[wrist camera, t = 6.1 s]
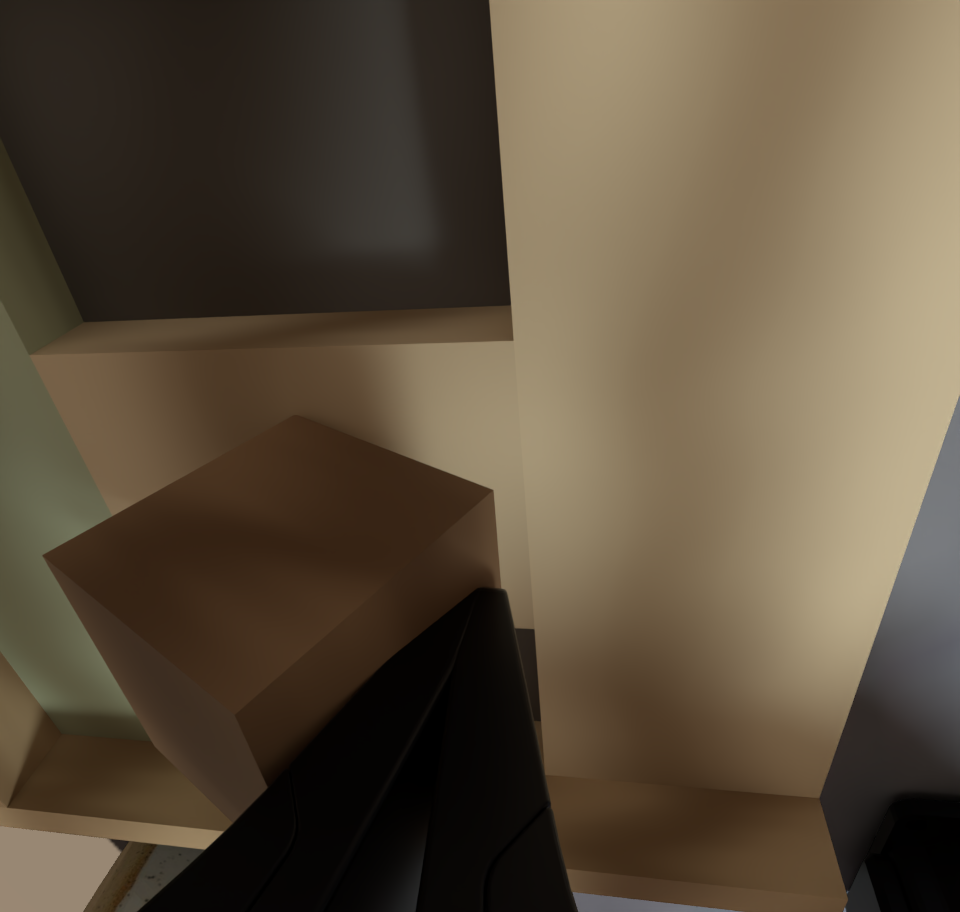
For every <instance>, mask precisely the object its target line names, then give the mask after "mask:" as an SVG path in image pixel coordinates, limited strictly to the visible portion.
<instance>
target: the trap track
mask: <svg viewBox="0 0 960 912" xmlns="http://www.w3.org/2000/svg"><path fill="white" fill-rule="evenodd" d="M959 395H960V0H0V826H5V827H13V828H22V829H31V830H40V831H48V832H57V833H65V834H74V835H83V836H91V837H101V838H109V839H117V840H126V841H135V842H144V843H152V844H161V845H170V846H178V847H187V848H196V849H204V850H205V849H206V848H207V847H208V846H209V845H210V844H211V843H213V842H214V841H215V840H216V839H217V838H218V837H219V836H220V835H221V834H222V833H223V832H224V831H225V830H226V829H227V828H229V827H230V826H231V825H232V824H233V823H232V822H231V821H230V820H229V819H228V818H227V817H226V816H225V815H224V814H223V813H222V812H221V811H220V810H219V809H218V808H217V807H216V806H215V805H214V804H213V803H212V802H211V801H210V800H209V799H208V798H207V797H206V796H205V795H204V794H203V793H202V792H201V791H200V790H199V789H198V788H197V787H196V786H195V785H193V784H192V783H191V782H190V781H189V780H188V779H187V778H186V777H185V776H184V775H183V774H182V773H181V772H180V771H179V770H178V769H177V768H176V767H175V766H174V765H173V764H172V763H171V762H170V761H169V760H168V759H167V758H166V757H165V756H164V755H163V754H162V753H161V752H160V751H159V750H158V749H157V748H156V747H155V746H154V744H153V743H152V741H151V739H150V738H149V736H148V734H147V733H146V731H145V729H144V728H143V726H142V724H141V722H140V721H139V719H138V717H137V716H136V714H135V712H134V711H133V709H132V707H131V705H130V704H129V702H128V700H127V699H126V697H125V695H124V694H123V692H122V690H121V689H120V687H119V685H118V683H117V682H116V680H115V678H114V677H113V675H112V673H111V672H110V670H109V668H108V667H107V665H106V663H105V661H104V660H103V658H102V656H101V655H100V653H99V651H98V650H97V648H96V646H95V644H94V643H93V641H92V639H91V638H90V636H89V634H88V633H87V631H86V629H85V628H84V626H83V624H82V622H81V621H80V619H79V617H78V616H77V614H76V612H75V611H74V609H73V607H72V605H71V604H70V602H69V600H68V599H67V597H66V595H65V594H64V592H63V590H62V589H61V587H60V585H59V583H58V582H57V580H56V578H55V577H54V575H53V573H52V572H51V570H50V568H49V567H48V565H47V563H46V561H45V560H44V558H43V556H42V555H43V554H45V553H47V552H49V551H51V550H52V549H54V548H56V547H58V546H60V545H61V544H63V543H65V542H67V541H68V540H70V539H72V538H74V537H76V536H77V535H79V534H81V533H83V532H85V531H86V530H88V529H90V528H92V527H94V526H95V525H97V524H99V523H101V522H103V521H104V520H106V519H108V518H110V517H112V516H113V515H115V514H117V513H119V512H121V511H122V510H124V509H126V508H128V507H130V506H131V505H133V504H135V503H137V502H139V501H140V500H142V499H144V498H146V497H148V496H149V495H151V494H153V493H155V492H157V491H158V490H160V489H162V488H164V487H166V486H167V485H169V484H171V483H173V482H175V481H176V480H178V479H180V478H182V477H184V476H185V475H187V474H189V473H191V472H193V471H194V470H196V469H198V468H200V467H202V466H203V465H205V464H207V463H209V462H211V461H212V460H214V459H216V458H218V457H220V456H221V455H223V454H225V453H227V452H228V451H230V450H232V449H234V448H236V447H237V446H239V445H241V444H243V443H245V442H246V441H248V440H250V439H252V438H254V437H255V436H257V435H259V434H261V433H263V432H264V431H266V430H268V429H270V428H272V427H273V426H275V425H277V424H279V423H281V422H282V421H284V420H286V419H288V418H290V417H291V416H293V415H298V416H301V417H303V418H306V419H309V420H311V421H314V422H317V423H319V424H322V425H324V426H327V427H330V428H332V429H335V430H338V431H340V432H343V433H345V434H348V435H351V436H353V437H356V438H359V439H361V440H364V441H366V442H369V443H372V444H374V445H377V446H380V447H382V448H385V449H387V450H390V451H393V452H395V453H398V454H401V455H403V456H406V457H408V458H411V459H414V460H416V461H419V462H422V463H424V464H427V465H429V466H432V467H435V468H437V469H440V470H443V471H445V472H448V473H450V474H453V475H456V476H458V477H461V478H463V479H466V480H469V481H471V482H474V483H477V484H479V485H482V486H484V487H487V488H490V489H492V490H494V502H495V514H496V527H497V540H498V552H499V565H500V577H501V588H502V589H505V590H506V591H507V593H508V598H509V602H510V607H511V612H512V617H513V622H514V626H515V631H516V636H517V641H518V646H519V651H520V655H521V660H522V665H523V670H524V675H525V679H526V684H527V689H528V694H529V699H530V704H531V708H532V713H533V718H534V723H535V728H536V732H537V737H538V742H539V747H540V752H541V756H542V761H543V766H544V771H545V776H546V781H547V785H548V790H549V795H550V800H551V809H552V810H553V813H554V818H555V822H556V827H557V832H558V837H559V842H560V846H561V850H562V854H563V858H564V862H565V866H566V870H567V875H568V879H569V883H570V887H571V890H572V892H578V893H587V894H595V895H604V896H613V897H622V898H630V899H639V900H648V901H656V902H665V903H674V904H682V905H691V906H700V907H708V908H717V909H726V910H735V911H743V912H843V910H844V908H845V906H846V903H847V901H848V897H847V894H846V890H845V887H844V883H843V880H842V876H841V873H840V869H839V866H838V862H837V859H836V855H835V852H834V848H833V845H832V841H831V838H830V834H829V831H828V827H827V824H826V820H825V817H824V813H823V810H822V806H821V803H820V799H819V797H820V795H821V792H822V789H823V786H824V783H825V780H826V777H827V774H828V772H829V769H830V766H831V763H832V760H833V757H834V754H835V751H836V749H837V746H838V743H839V740H840V737H841V734H842V731H843V728H844V726H845V723H846V720H847V717H848V714H849V711H850V708H851V705H852V703H853V700H854V697H855V694H856V691H857V688H858V685H859V682H860V680H861V677H862V674H863V671H864V668H865V665H866V662H867V659H868V657H869V654H870V651H871V648H872V645H873V642H874V639H875V636H876V634H877V631H878V628H879V625H880V622H881V619H882V616H883V613H884V611H885V608H886V605H887V602H888V599H889V596H890V593H891V590H892V588H893V585H894V582H895V579H896V576H897V573H898V570H899V567H900V565H901V562H902V559H903V556H904V553H905V550H906V547H907V544H908V541H909V539H910V536H911V533H912V530H913V527H914V524H915V521H916V518H917V516H918V513H919V510H920V507H921V504H922V501H923V498H924V495H925V493H926V490H927V487H928V484H929V481H930V478H931V475H932V472H933V470H934V467H935V464H936V461H937V458H938V455H939V452H940V449H941V447H942V444H943V441H944V438H945V435H946V432H947V429H948V426H949V424H950V421H951V418H952V415H953V412H954V409H955V406H956V403H957V401H958V398H959Z"/></svg>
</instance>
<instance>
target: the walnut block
mask: <svg viewBox="0 0 960 912" xmlns="http://www.w3.org/2000/svg"><path fill="white" fill-rule="evenodd" d="M42 556H43V558H44V560H45V561H46V563H47V565H48V567H49V568H50V570H51V572H52V573H53V575H54V577H55V578H56V580H57V582H58V583H59V585H60V587H61V589H62V590H63V592H64V594H65V595H66V597H67V599H68V600H69V602H70V604H71V605H72V607H73V609H74V611H75V612H76V614H77V616H78V617H79V619H80V621H81V622H82V624H83V626H84V628H85V629H86V631H87V633H88V634H89V636H90V638H91V639H92V641H93V643H94V644H95V646H96V648H97V650H98V651H99V653H100V655H101V656H102V658H103V660H104V661H105V663H106V665H107V667H108V668H109V670H110V672H111V673H112V675H113V677H114V678H115V680H116V682H117V683H118V685H119V687H120V689H121V690H122V692H123V694H124V695H125V697H126V699H127V700H128V702H129V704H130V705H131V707H132V709H133V711H134V712H135V714H136V716H137V717H138V719H139V721H140V722H141V724H142V726H143V728H144V729H145V731H146V733H147V734H148V736H149V738H150V739H151V741H152V743H153V744H154V746H155V747H156V748H157V749H158V750H159V751H160V752H161V753H162V754H163V755H164V756H165V757H166V758H167V759H168V760H169V761H170V762H171V763H172V764H173V765H174V766H175V767H176V768H177V769H178V770H179V771H180V772H181V773H182V774H183V775H184V776H185V777H186V778H187V779H188V780H189V781H190V782H191V783H192V784H193V785H195V786H196V787H197V788H198V789H199V790H200V791H201V792H202V793H203V794H204V795H205V796H206V797H207V798H208V799H209V800H210V801H211V802H212V803H213V804H214V805H215V806H216V807H217V808H218V809H219V810H220V811H221V812H222V813H223V814H224V815H225V816H226V817H227V818H228V819H229V820H230V821H231V822H232V823H234V821H235V820H236V819H237V818H238V817H239V816H240V815H241V814H242V813H243V812H244V811H245V810H246V809H247V808H248V807H249V806H250V805H251V804H252V803H253V802H254V801H255V800H256V799H257V798H258V797H259V796H260V795H261V794H262V793H263V792H264V791H265V790H266V789H267V788H268V786H269V785H270V784H271V783H272V782H273V781H274V780H275V779H276V778H277V777H278V776H279V775H280V774H281V772H282V771H283V770H284V769H289V770H290V767H289V766H290V763H291V762H292V761H293V760H294V759H295V758H296V757H297V756H298V755H299V754H300V752H301V751H302V750H303V749H304V748H305V747H306V746H307V745H308V744H309V743H310V742H311V741H312V740H313V738H314V737H315V736H316V735H317V734H318V733H319V732H320V731H321V730H322V729H323V728H324V727H325V726H326V725H327V723H328V722H329V721H330V720H331V719H332V718H333V717H334V716H335V715H336V714H337V713H338V712H339V711H340V710H341V708H342V707H343V706H344V705H345V704H346V703H347V702H348V701H349V700H350V699H351V698H352V697H353V696H354V694H355V693H356V692H357V691H358V690H359V689H360V688H361V687H362V686H363V685H364V684H365V683H366V682H367V681H368V679H369V678H370V677H371V676H372V675H373V674H374V673H375V672H376V671H377V670H378V669H379V668H380V667H381V666H382V665H383V664H384V663H385V662H386V661H387V660H388V659H390V658H391V657H392V656H393V655H394V654H396V653H397V652H398V651H399V650H401V649H402V648H403V647H404V646H406V645H407V644H408V643H409V642H411V641H412V640H413V639H414V638H416V637H417V636H418V635H419V634H421V633H422V632H423V631H424V630H425V629H427V628H428V627H429V626H430V625H432V624H433V623H434V622H435V621H437V620H438V619H439V618H440V617H442V616H443V615H444V614H445V613H447V612H448V611H449V610H450V609H452V608H453V607H454V606H455V605H457V604H458V603H459V602H460V601H462V600H463V599H464V598H465V597H467V596H468V595H469V594H470V593H472V592H473V591H474V590H476V589H477V588H480V587H490V588H501V577H500V565H499V552H498V540H497V527H496V514H495V502H494V490H492V489H490V488H487V487H484V486H482V485H479V484H477V483H474V482H471V481H469V480H466V479H463V478H461V477H458V476H456V475H453V474H450V473H448V472H445V471H443V470H440V469H437V468H435V467H432V466H429V465H427V464H424V463H422V462H419V461H416V460H414V459H411V458H408V457H406V456H403V455H401V454H398V453H395V452H393V451H390V450H387V449H385V448H382V447H380V446H377V445H374V444H372V443H369V442H366V441H364V440H361V439H359V438H356V437H353V436H351V435H348V434H345V433H343V432H340V431H338V430H335V429H332V428H330V427H327V426H324V425H322V424H319V423H317V422H314V421H311V420H309V419H306V418H303V417H301V416H298V415H293V416H291V417H290V418H288V419H286V420H284V421H282V422H281V423H279V424H277V425H275V426H273V427H272V428H270V429H268V430H266V431H264V432H263V433H261V434H259V435H257V436H255V437H254V438H252V439H250V440H248V441H246V442H245V443H243V444H241V445H239V446H237V447H236V448H234V449H232V450H230V451H228V452H227V453H225V454H223V455H221V456H220V457H218V458H216V459H214V460H212V461H211V462H209V463H207V464H205V465H203V466H202V467H200V468H198V469H196V470H194V471H193V472H191V473H189V474H187V475H185V476H184V477H182V478H180V479H178V480H176V481H175V482H173V483H171V484H169V485H167V486H166V487H164V488H162V489H160V490H158V491H157V492H155V493H153V494H151V495H149V496H148V497H146V498H144V499H142V500H140V501H139V502H137V503H135V504H133V505H131V506H130V507H128V508H126V509H124V510H122V511H121V512H119V513H117V514H115V515H113V516H112V517H110V518H108V519H106V520H104V521H103V522H101V523H99V524H97V525H95V526H94V527H92V528H90V529H88V530H86V531H85V532H83V533H81V534H79V535H77V536H76V537H74V538H72V539H70V540H68V541H67V542H65V543H63V544H61V545H60V546H58V547H56V548H54V549H52V550H51V551H49V552H47V553H45V554H43V555H42Z"/></svg>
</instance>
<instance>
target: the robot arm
mask: <svg viewBox="0 0 960 912" xmlns="http://www.w3.org/2000/svg"><path fill="white" fill-rule="evenodd" d="M289 767H290V770H289V769H284V770H283V771H282V772H281V774H280V775H279V776H278V777H277V778H276V779H275V780H274V781H273V782H272V783H271V784H270V785H269V786H268V788H267V789H266V790H265V791H264V792H263V793H262V794H261V795H260V796H259V797H258V798H257V799H256V800H255V801H254V802H253V803H252V804H251V805H250V806H249V807H248V808H247V809H246V810H245V811H244V812H243V813H242V814H241V815H240V816H239V817H238V818H237V819H236V820H235V821H234V823H233V824H232V825H231V826H230V827H229V828H227V829H226V830H225V831H224V832H223V833H222V834H221V835H220V836H219V837H218V838H217V839H216V840H215V841H214V842H213V843H211V844H210V845H209V846H208V847H207V848H206V849H205V850H204V851H203V852H202V853H201V854H200V855H199V856H198V857H196V858H195V859H194V860H193V861H192V862H191V863H190V864H189V865H188V866H187V867H186V868H185V869H183V870H182V871H181V872H180V873H179V874H178V875H177V876H176V877H174V878H173V879H172V880H171V881H170V882H169V883H168V884H167V885H166V886H164V887H163V888H162V889H161V890H160V891H159V892H158V893H157V894H156V895H154V896H153V897H152V898H151V899H150V900H149V901H148V902H147V903H146V904H144V905H143V906H142V907H141V908H140V909H139V910H138V911H137V912H578V910H577V907H576V903H575V900H574V897H573V894H572V890H571V887H570V883H569V879H568V875H567V870H566V866H565V862H564V858H563V854H562V850H561V846H560V842H559V837H558V832H557V827H556V822H555V818H554V813H553V810H552V809H551V800H550V795H549V790H548V785H547V781H546V776H545V771H544V766H543V761H542V756H541V752H540V747H539V742H538V737H537V732H536V728H535V723H534V718H533V713H532V708H531V704H530V699H529V694H528V689H527V684H526V679H525V675H524V670H523V665H522V660H521V655H520V651H519V646H518V641H517V636H516V631H515V626H514V622H513V617H512V612H511V607H510V602H509V598H508V593H507V591H506V590H505V589H502V588H490V587H480V588H477V589H476V590H474V591H473V592H472V593H470V594H469V595H468V596H467V597H465V598H464V599H463V600H462V601H460V602H459V603H458V604H457V605H455V606H454V607H453V608H452V609H450V610H449V611H448V612H447V613H445V614H444V615H443V616H442V617H440V618H439V619H438V620H437V621H435V622H434V623H433V624H432V625H430V626H429V627H428V628H427V629H425V630H424V631H423V632H422V633H421V634H419V635H418V636H417V637H416V638H414V639H413V640H412V641H411V642H409V643H408V644H407V645H406V646H404V647H403V648H402V649H401V650H399V651H398V652H397V653H396V654H394V655H393V656H392V657H391V658H390V659H388V660H387V661H386V662H385V663H384V664H383V665H382V666H381V667H380V668H379V669H378V670H377V671H376V672H375V673H374V674H373V675H372V676H371V677H370V678H369V679H368V681H367V682H366V683H365V684H364V685H363V686H362V687H361V688H360V689H359V690H358V691H357V692H356V693H355V694H354V696H353V697H352V698H351V699H350V700H349V701H348V702H347V703H346V704H345V705H344V706H343V707H342V708H341V710H340V711H339V712H338V713H337V714H336V715H335V716H334V717H333V718H332V719H331V720H330V721H329V722H328V723H327V725H326V726H325V727H324V728H323V729H322V730H321V731H320V732H319V733H318V734H317V735H316V736H315V737H314V738H313V740H312V741H311V742H310V743H309V744H308V745H307V746H306V747H305V748H304V749H303V750H302V751H301V752H300V754H299V755H298V756H297V757H296V758H295V759H294V760H293V761H292V762H291V763H290V766H289ZM847 897H848V901H847V903H846V906H845V908H846V912H960V803H957V802H945V801H932V800H920V799H905V800H901V801H898V802H896V803H893V804H892V805H891V806H890V807H889V809H888V811H887V814H886V816H885V818H884V820H883V822H882V824H881V827H880V829H879V831H878V833H877V835H876V837H875V840H874V842H873V844H872V846H871V848H870V850H869V853H868V855H867V857H866V858H865V859H864V861H863V862H862V865H861V867H860V869H859V871H858V873H857V876H856V878H855V880H854V882H853V884H852V886H851V889H850V891H849V893H848V895H847Z"/></svg>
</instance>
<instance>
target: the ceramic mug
mask: <svg viewBox="0 0 960 912" xmlns="http://www.w3.org/2000/svg"><path fill="white" fill-rule="evenodd" d="M203 851H204V849H196V848H187V847H178V846H170V845H161V844H152V843H144V842H135V841H129V842H128V844H127V845H126V847H125V848H124V850H123V851H122V853H121V854H120V855H119V857H118V858H117V860H116V861H115V863H114V865H113V866H112V868H111V869H110V871H109V872H108V874H107V875H106V877H105V878H104V880H103V881H102V883H101V884H100V886H99V887H98V889H97V891H96V892H95V894H94V896H93V897H92V899H91V900H90V902H89V903H88V905H87V906H86V908H85V910H84V912H137V911H138V910H139V909H140V908H141V907H142V906H143V905H144V904H146V903H147V902H148V901H149V900H150V899H151V898H152V897H153V896H154V895H156V894H157V893H158V892H159V891H160V890H161V889H162V888H163V887H164V886H166V885H167V884H168V883H169V882H170V881H171V880H172V879H173V878H174V877H176V876H177V875H178V874H179V873H180V872H181V871H182V870H183V869H185V868H186V867H187V866H188V865H189V864H190V863H191V862H192V861H193V860H194V859H195V858H196V857H198V856H199V855H200V854H201V853H202V852H203Z"/></svg>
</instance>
